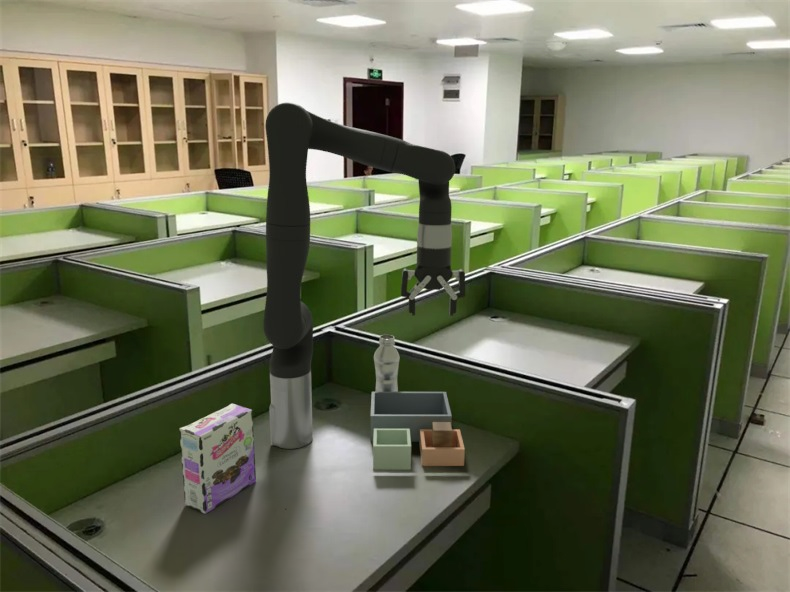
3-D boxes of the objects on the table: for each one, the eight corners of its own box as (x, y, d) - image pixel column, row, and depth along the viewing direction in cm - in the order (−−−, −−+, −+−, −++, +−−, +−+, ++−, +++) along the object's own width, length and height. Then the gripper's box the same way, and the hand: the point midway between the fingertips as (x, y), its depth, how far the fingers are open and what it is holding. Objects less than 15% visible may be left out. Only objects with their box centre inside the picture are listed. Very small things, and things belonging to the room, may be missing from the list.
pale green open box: (373, 471, 133) (373, 446, 131) (373, 452, 141) (373, 428, 139) (410, 471, 133) (411, 446, 131) (409, 452, 141) (409, 428, 139)
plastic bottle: (396, 416, 158) (397, 342, 153) (370, 414, 159) (371, 339, 154) (401, 406, 164) (402, 333, 159) (376, 403, 165) (376, 331, 160)
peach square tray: (421, 468, 134) (422, 449, 133) (419, 447, 143) (419, 429, 142) (463, 468, 135) (464, 449, 133) (458, 447, 143) (459, 429, 142)
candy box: (205, 515, 117) (198, 436, 113) (184, 505, 120) (177, 427, 116) (257, 481, 129) (253, 408, 124) (236, 473, 132) (232, 401, 127)
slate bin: (370, 443, 145) (370, 415, 143) (371, 417, 158) (371, 391, 156) (450, 443, 145) (451, 416, 143) (445, 417, 158) (446, 391, 156)
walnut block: (432, 459, 137) (433, 430, 135) (431, 450, 141) (432, 421, 139) (450, 459, 137) (452, 430, 135) (449, 450, 141) (450, 422, 139)
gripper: (402, 246, 133) (401, 319, 137) (469, 247, 133) (465, 320, 137) (401, 240, 140) (400, 310, 144) (464, 241, 140) (461, 310, 144)
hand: (432, 314), depth 141 cm, fingers open, 8 cm apart
